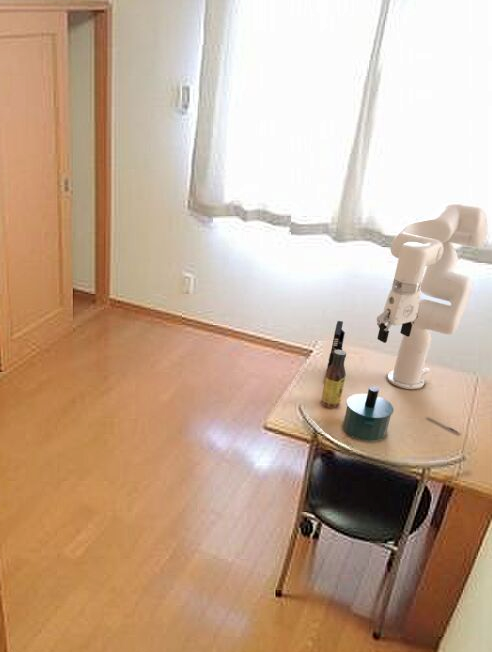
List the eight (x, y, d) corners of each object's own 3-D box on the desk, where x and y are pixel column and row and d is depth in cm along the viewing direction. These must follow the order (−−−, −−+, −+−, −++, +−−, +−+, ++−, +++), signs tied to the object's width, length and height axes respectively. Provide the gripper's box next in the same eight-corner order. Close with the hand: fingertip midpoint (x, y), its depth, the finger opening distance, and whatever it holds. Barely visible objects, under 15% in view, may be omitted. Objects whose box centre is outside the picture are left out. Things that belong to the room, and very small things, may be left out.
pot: (385, 418, 216) (390, 395, 212) (385, 450, 201) (392, 426, 196) (344, 411, 219) (348, 388, 215) (341, 442, 204) (347, 418, 199)
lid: (392, 400, 210) (397, 381, 206) (393, 424, 198) (398, 404, 194) (346, 393, 213) (350, 374, 210) (345, 415, 202) (349, 396, 198)
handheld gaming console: (326, 368, 245) (336, 320, 234) (339, 371, 243) (349, 322, 233) (323, 383, 235) (333, 334, 225) (336, 386, 234) (346, 336, 223)
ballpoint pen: (458, 434, 210) (459, 431, 209) (456, 435, 209) (457, 432, 209) (428, 419, 217) (429, 416, 216) (427, 420, 216) (428, 417, 216)
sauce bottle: (340, 410, 220) (351, 358, 210) (321, 407, 221) (331, 356, 211) (339, 400, 226) (349, 349, 215) (320, 398, 227) (330, 347, 216)
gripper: (394, 294, 185) (381, 348, 193) (437, 285, 192) (422, 337, 200) (375, 285, 190) (363, 338, 199) (417, 276, 197) (404, 327, 206)
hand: (393, 337), depth 200 cm, fingers open, 9 cm apart
